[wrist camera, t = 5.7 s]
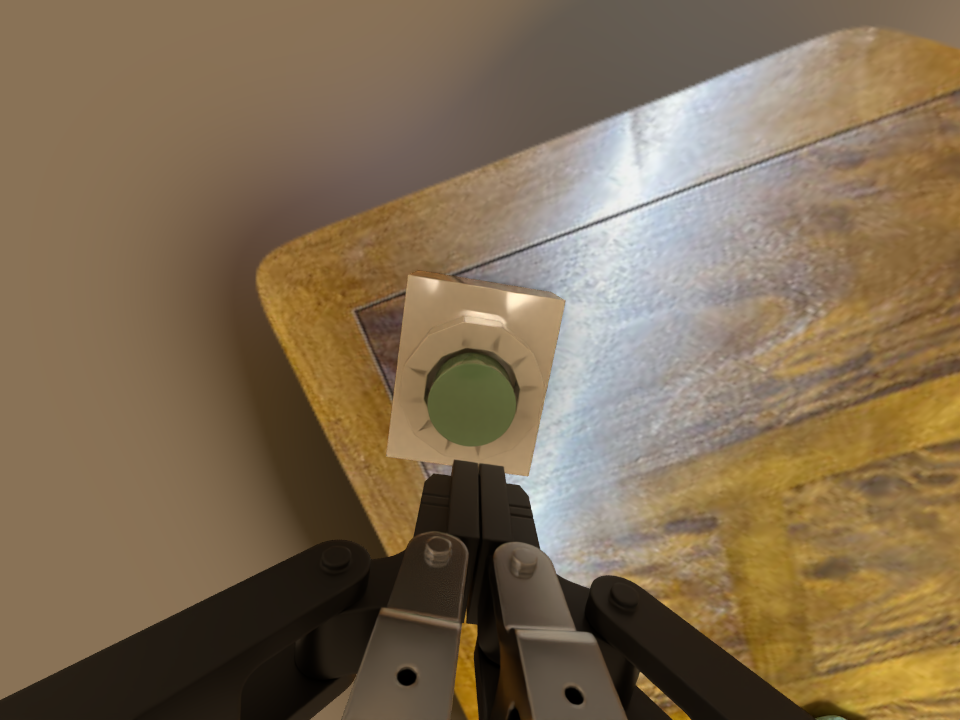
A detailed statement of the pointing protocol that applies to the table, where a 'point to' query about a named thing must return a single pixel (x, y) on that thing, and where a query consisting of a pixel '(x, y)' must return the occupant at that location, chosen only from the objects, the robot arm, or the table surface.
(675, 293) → the table surface
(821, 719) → the penguin figurine
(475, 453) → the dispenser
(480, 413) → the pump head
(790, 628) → the table surface
